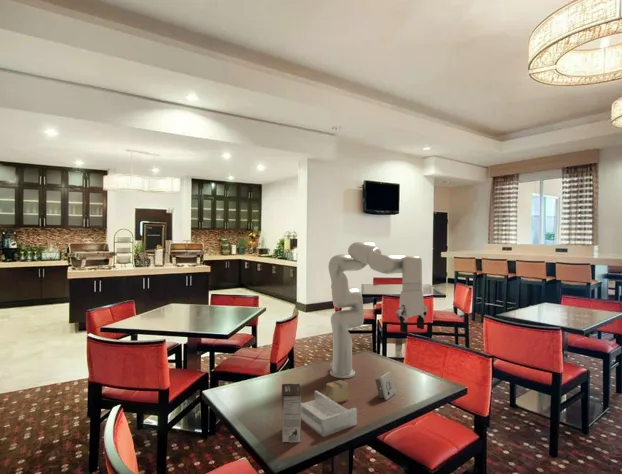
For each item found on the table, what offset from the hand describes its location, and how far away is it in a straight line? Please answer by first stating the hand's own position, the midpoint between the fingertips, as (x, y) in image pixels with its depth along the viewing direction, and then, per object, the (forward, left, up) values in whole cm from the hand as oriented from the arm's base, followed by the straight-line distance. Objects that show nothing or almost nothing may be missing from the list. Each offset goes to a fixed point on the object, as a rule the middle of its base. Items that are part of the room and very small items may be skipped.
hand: (412, 330), depth 144 cm
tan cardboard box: (-23, -20, -31) cm, 44 cm away
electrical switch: (-15, 0, -31) cm, 35 cm away
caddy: (-15, -34, -31) cm, 48 cm away
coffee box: (-10, -50, -31) cm, 60 cm away
